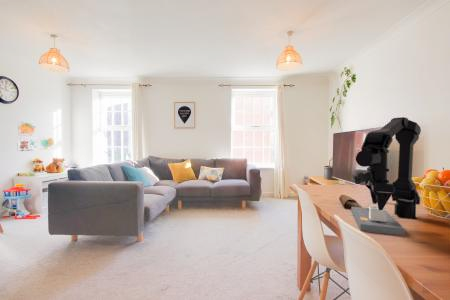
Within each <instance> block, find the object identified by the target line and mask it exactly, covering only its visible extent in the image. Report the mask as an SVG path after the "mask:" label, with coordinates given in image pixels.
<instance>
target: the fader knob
mask: <svg viewBox="0 0 450 300" xmlns="http://www.w3.org/2000/svg"><path fill="white" fill-rule="evenodd" d="M368 208H369V219H370V220H372V221H382V222H386V212H388V211H387V208H386V207H384V208H383V210H379V209H378V206H370V205H369V206H368Z"/></svg>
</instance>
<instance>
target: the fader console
mask: <svg viewBox="0 0 450 300" xmlns="http://www.w3.org/2000/svg"><path fill="white" fill-rule="evenodd" d="M350 212H351V216H352V217H353V219H354V221H355V223H356V224H357V227H358V229H359V230H361V231H360V232H367V233H375V234H377V233H378V234H385V235H392V234H393V236H394V235H395V236H401V237H403V236H404V235H405V234H404V232H405V231H404V229H405V228H404V227H403V226H402V225H401V224H400V223H399V222H398V221H397V220H396V219H395V218H394V217H393V216H392V215H391V214H390V213H389V212H388V211H387V212H386V222H382V221H372V220H370V219H369V207H361V206H360V207H351V209H350Z"/></svg>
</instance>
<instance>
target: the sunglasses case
mask: <svg viewBox="0 0 450 300" xmlns="http://www.w3.org/2000/svg"><path fill="white" fill-rule="evenodd" d="M338 200H339V201H340V203H341V205H342V207H343V209H345V210H351V207H361V205H359V203H358V202H357V200H356V199H354V198H352V197H351V196H349V195H346V194H341V195H340V196H339V198H338Z"/></svg>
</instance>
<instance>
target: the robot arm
mask: <svg viewBox="0 0 450 300" xmlns="http://www.w3.org/2000/svg"><path fill="white" fill-rule="evenodd" d="M421 132H422V130H421V127H420V125H419V124H418V123H417V122H415V121H413V120H410V119H409V118H407V117H405V116H404V117H403V116H401V117H394V118H391V119H390V121H389V122H387V123H386V124H385V125H384V126H382V127H381V128H380V129H374V130H371V131H369V132H367V135H366V136H365V139H364V141H363V143H362V146H361V148H360V149H361V150H360V151H359V152H357V153H356V156H355V162H356V163H357V164H358V166H360V167H363V168H364V167H366V171H360V172H357V173H354V174H352V175H351V177H352V180H353V182H354V184H355V185H359V184H361V183H363V184H364V186H365V187H366V188H367V189H369V193H370V198H371V201H372V204H373V205H376V204H377V207H378V209H379V210H383V208H385V206H386V204H387V203H388V201H389V200H390V198H391V199H392V202H395V203H394V208H393V209H394V214H395V215H396V216H397V217H398V218H404V219H414V220H416V219H418V217H417V215H416V214H417V205H421V197H420V195H419V192H418V190H417V185H416V183H415V182H414V180H413V178H412V177H413V161H414V145H415V144H416V143H417V141H418V140H419V138H420V135H421ZM394 136H395V138H394V139H395V141H397V143H398V146H399V151H398V167H397V168H398V170H397V179H396V180H395V181H392V183H390V181H389V180H390V179H388V173H389V171H390V169H389V168H388V154H389V153H390V151H389V149H388V148H390V146H391V144H392V143H393V137H394Z"/></svg>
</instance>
